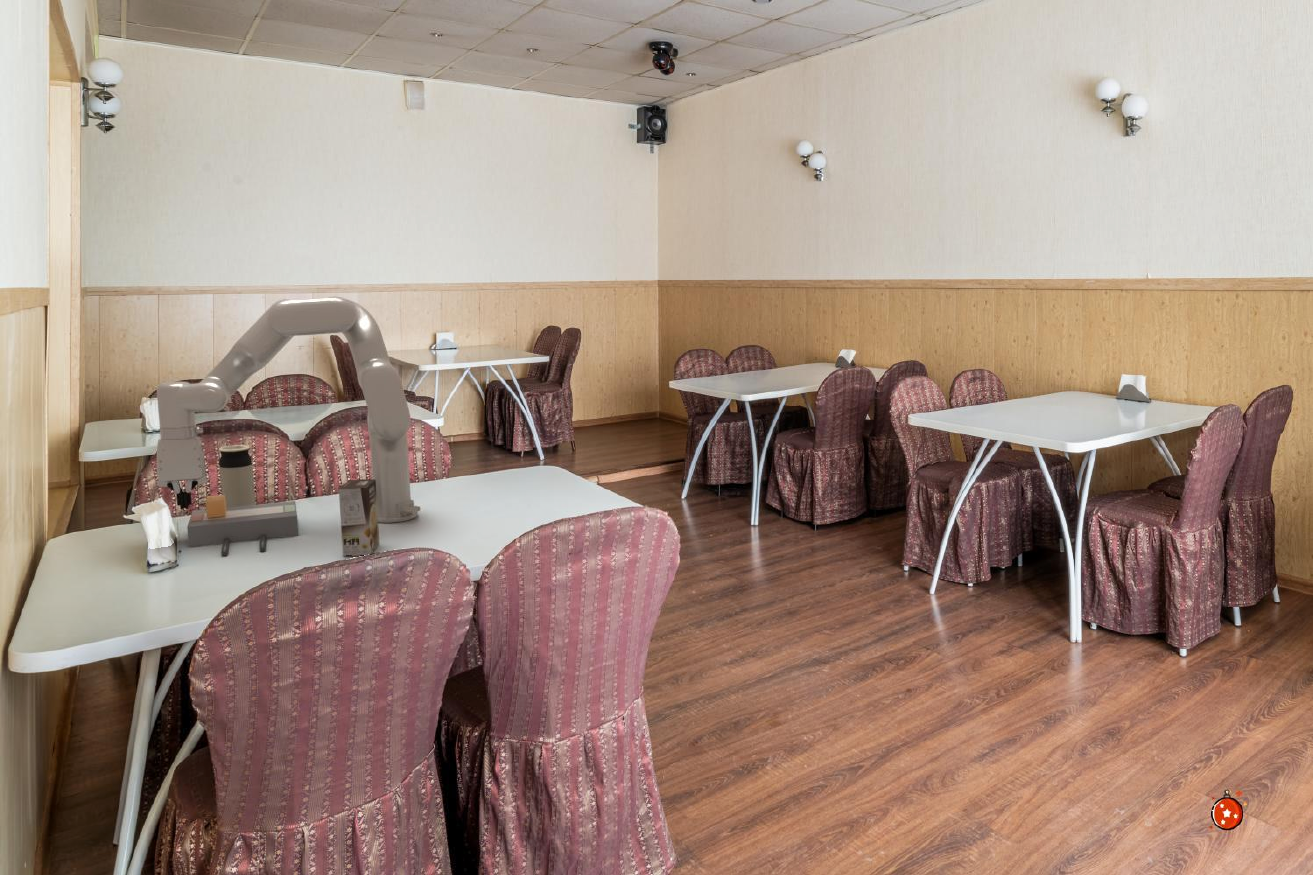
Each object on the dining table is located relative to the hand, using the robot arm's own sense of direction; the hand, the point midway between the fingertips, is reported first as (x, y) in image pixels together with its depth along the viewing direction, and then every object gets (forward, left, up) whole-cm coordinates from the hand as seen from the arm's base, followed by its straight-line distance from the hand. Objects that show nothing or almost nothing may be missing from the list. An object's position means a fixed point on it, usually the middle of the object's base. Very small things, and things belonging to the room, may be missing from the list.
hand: (184, 507), depth 213 cm
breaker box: (-12, -7, -8) cm, 16 cm away
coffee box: (-45, -13, -8) cm, 47 cm away
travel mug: (+11, -22, -8) cm, 26 cm away
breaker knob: (-4, -5, -2) cm, 7 cm away
